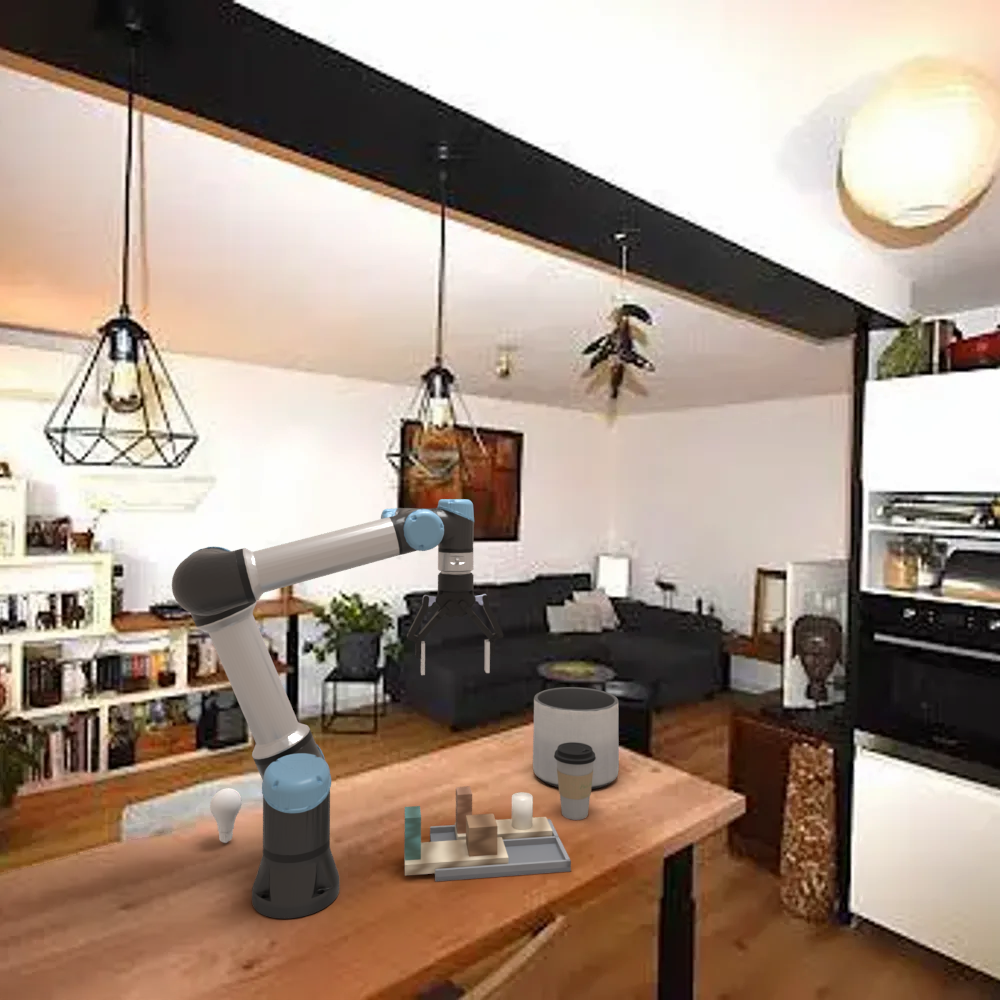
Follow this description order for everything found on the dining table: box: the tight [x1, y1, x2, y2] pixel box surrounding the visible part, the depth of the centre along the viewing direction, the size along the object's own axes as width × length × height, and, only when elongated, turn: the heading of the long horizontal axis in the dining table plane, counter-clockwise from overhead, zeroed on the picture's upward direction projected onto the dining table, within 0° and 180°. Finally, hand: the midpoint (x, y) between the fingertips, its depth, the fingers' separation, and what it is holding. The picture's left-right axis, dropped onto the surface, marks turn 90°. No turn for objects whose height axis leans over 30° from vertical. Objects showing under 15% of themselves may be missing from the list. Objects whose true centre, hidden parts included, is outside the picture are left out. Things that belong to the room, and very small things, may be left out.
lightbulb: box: [209, 787, 243, 844], centre depth 147 cm, size 6×6×11 cm
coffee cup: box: [554, 742, 596, 821], centre depth 161 cm, size 9×9×15 cm
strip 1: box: [403, 805, 508, 876], centre depth 138 cm, size 20×8×10 cm, turn 99°
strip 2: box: [454, 785, 552, 840], centre depth 149 cm, size 20×6×10 cm, turn 99°
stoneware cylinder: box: [511, 791, 534, 830], centre depth 149 cm, size 4×4×6 cm
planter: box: [532, 686, 620, 790], centre depth 184 cm, size 22×22×20 cm
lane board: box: [429, 818, 572, 882], centre depth 144 cm, size 26×18×2 cm
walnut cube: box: [466, 813, 498, 857], centre depth 139 cm, size 6×6×6 cm
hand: (455, 672), depth 150 cm, fingers open, 13 cm apart
